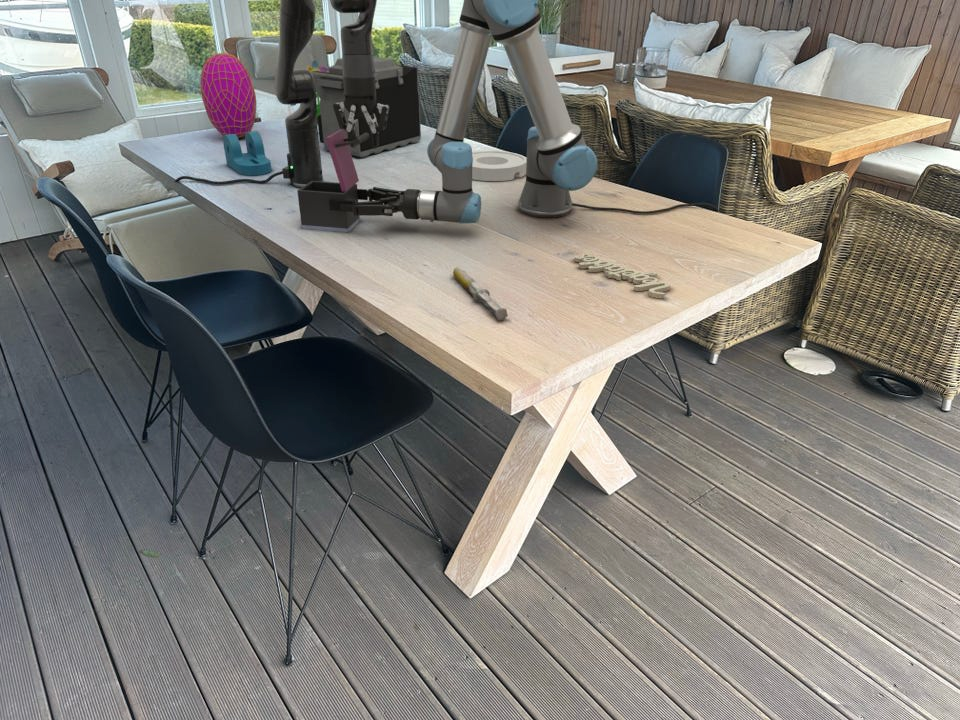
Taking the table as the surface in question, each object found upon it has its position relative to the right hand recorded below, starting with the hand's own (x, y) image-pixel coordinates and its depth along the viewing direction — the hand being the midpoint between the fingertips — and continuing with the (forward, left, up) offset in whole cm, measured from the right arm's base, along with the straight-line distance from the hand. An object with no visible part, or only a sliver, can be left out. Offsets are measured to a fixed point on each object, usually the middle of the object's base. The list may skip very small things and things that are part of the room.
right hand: (337, 198), depth 179 cm
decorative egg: (+32, -110, -7) cm, 114 cm away
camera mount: (+25, -62, -7) cm, 67 cm away
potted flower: (-2, -132, -7) cm, 133 cm away
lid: (-2, +1, +10) cm, 10 cm away
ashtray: (-53, -42, -7) cm, 68 cm away
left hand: (-8, +4, +14) cm, 16 cm away
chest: (+2, -1, -7) cm, 8 cm away
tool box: (-18, -86, -7) cm, 88 cm away
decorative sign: (-60, +48, -7) cm, 77 cm away
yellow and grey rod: (-25, +52, -7) cm, 58 cm away
